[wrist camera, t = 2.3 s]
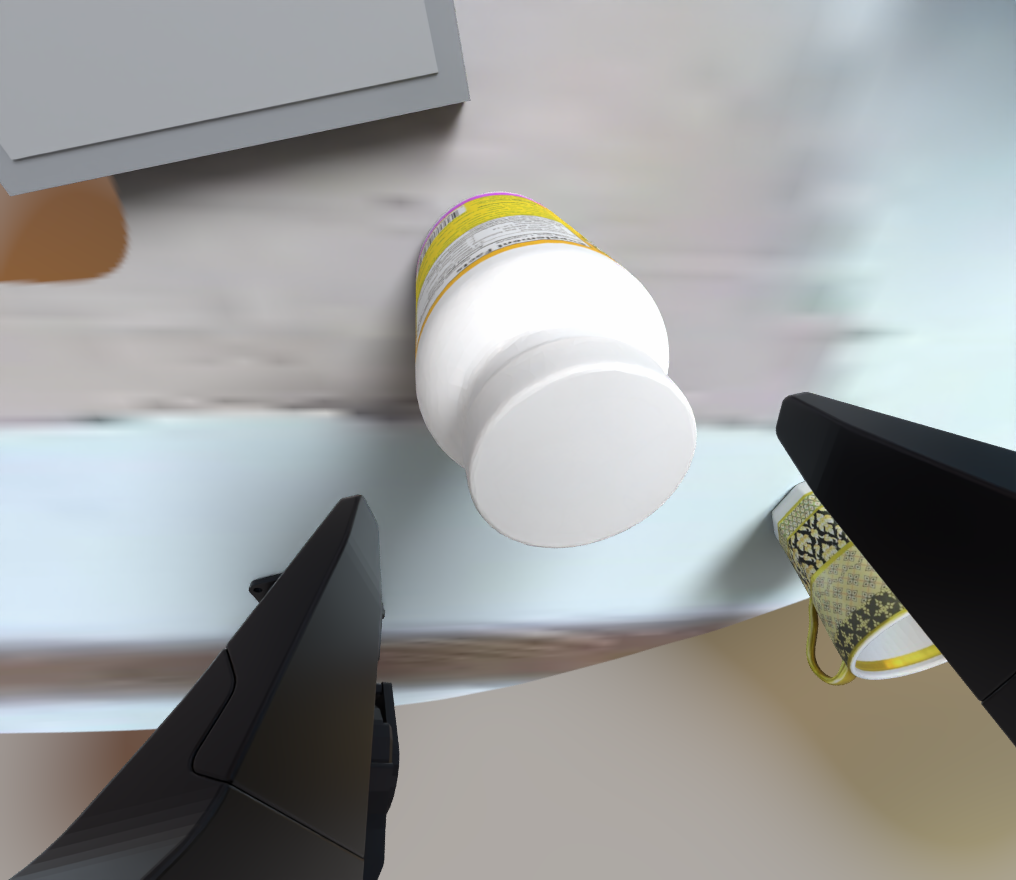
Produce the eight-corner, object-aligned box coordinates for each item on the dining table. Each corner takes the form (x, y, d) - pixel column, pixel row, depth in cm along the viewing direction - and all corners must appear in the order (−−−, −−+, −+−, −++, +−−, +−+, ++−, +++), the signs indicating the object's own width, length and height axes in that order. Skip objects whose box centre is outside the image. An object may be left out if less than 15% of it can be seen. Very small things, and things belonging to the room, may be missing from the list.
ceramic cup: (812, 437, 28) (966, 568, 20) (915, 462, 31) (1082, 584, 23) (697, 568, 35) (779, 705, 27) (791, 578, 38) (889, 703, 30)
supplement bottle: (569, 340, 21) (705, 555, 11) (429, 356, 21) (440, 600, 11) (575, 179, 17) (797, 290, 7) (402, 192, 17) (377, 334, 7)
